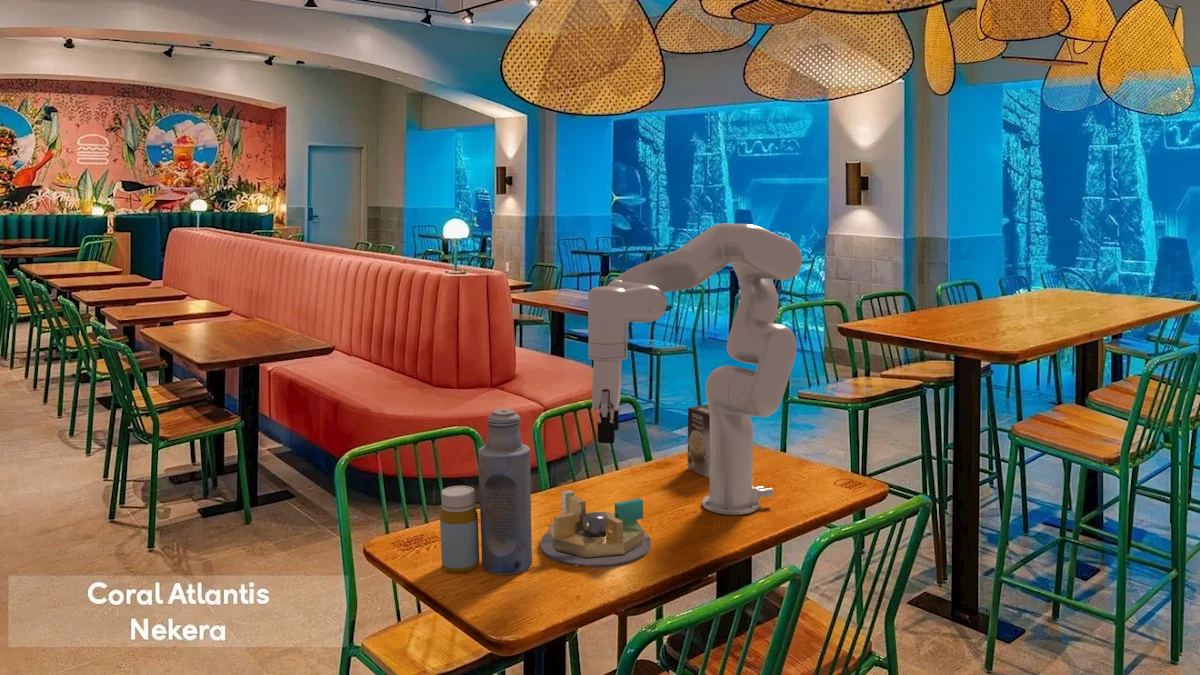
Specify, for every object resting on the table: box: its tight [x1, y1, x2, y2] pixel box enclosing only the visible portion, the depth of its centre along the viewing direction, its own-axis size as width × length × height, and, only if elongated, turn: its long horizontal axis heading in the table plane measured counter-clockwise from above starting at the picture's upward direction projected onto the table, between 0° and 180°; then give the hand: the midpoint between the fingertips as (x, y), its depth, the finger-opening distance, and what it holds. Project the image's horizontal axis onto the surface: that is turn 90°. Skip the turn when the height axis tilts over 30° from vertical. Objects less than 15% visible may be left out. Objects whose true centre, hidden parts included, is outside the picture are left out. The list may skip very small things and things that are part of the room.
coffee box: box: [686, 403, 710, 479], centre depth 235 cm, size 9×6×16 cm
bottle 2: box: [477, 408, 533, 575], centre depth 177 cm, size 10×10×30 cm
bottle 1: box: [439, 485, 480, 574], centre depth 177 cm, size 7×7×15 cm
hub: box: [540, 489, 652, 568], centre depth 188 cm, size 22×22×8 cm
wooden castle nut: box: [547, 495, 645, 557], centre depth 188 cm, size 20×18×6 cm
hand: (608, 436), depth 186 cm, fingers open, 9 cm apart
